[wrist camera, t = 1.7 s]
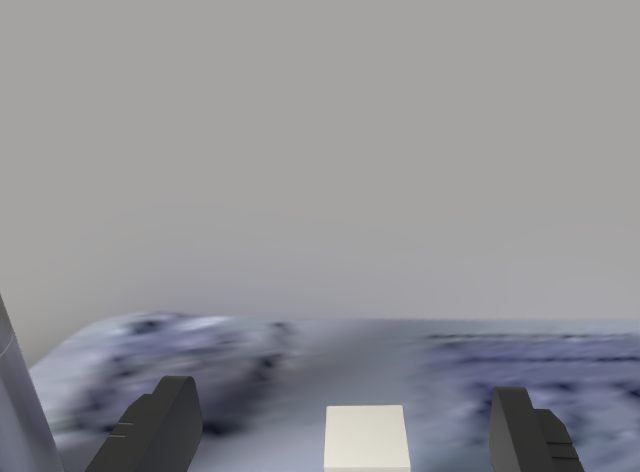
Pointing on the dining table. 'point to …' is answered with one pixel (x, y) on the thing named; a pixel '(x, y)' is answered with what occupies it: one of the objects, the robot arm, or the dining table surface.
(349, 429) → the block
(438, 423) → the dining table surface
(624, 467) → the dining table surface
